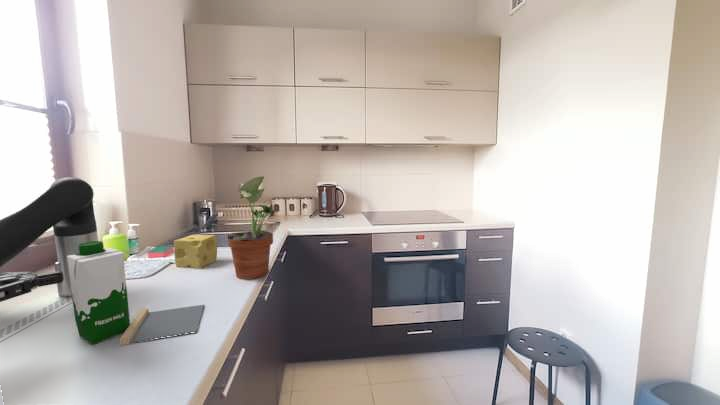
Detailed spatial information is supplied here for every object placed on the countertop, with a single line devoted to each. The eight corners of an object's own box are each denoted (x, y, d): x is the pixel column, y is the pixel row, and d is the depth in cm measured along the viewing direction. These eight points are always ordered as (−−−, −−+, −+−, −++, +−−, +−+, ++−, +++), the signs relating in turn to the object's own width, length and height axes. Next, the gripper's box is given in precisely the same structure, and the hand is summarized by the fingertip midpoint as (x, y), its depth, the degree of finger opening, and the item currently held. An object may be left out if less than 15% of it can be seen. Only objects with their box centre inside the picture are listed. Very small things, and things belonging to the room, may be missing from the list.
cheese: (199, 269, 112) (197, 241, 111) (173, 267, 114) (171, 240, 113) (218, 260, 122) (216, 234, 121) (194, 258, 124) (192, 233, 123)
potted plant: (286, 271, 109) (282, 168, 105) (249, 285, 97) (243, 169, 92) (256, 263, 118) (251, 168, 113) (219, 275, 105) (211, 169, 101)
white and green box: (119, 319, 76) (110, 237, 74) (137, 329, 72) (128, 242, 69) (72, 336, 69) (60, 246, 66) (88, 349, 64) (76, 252, 62)
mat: (120, 345, 65) (119, 338, 65) (141, 314, 78) (141, 309, 78) (196, 332, 70) (195, 326, 70) (204, 306, 83) (203, 300, 83)
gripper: (-56, 306, 61) (67, 284, 72) (-87, 335, 50) (62, 304, 61) (-63, 268, 60) (63, 251, 71) (-95, 290, 50) (57, 266, 60)
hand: (62, 276), depth 66 cm, fingers closed
